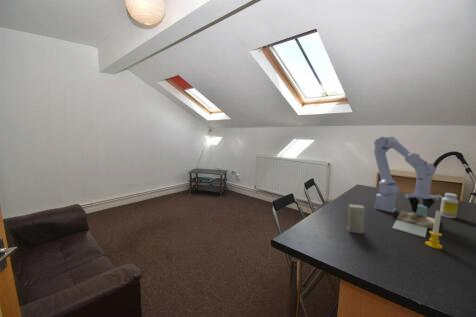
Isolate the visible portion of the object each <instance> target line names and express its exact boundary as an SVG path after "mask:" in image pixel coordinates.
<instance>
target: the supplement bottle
mask: <svg viewBox="0 0 476 317" xmlns="http://www.w3.org/2000/svg"><path fill="white" fill-rule="evenodd" d="M457 197H458V194H455V193H452V192H451V193H450V192H445V193H444V197H441V202H440V209H439V211H441V217H445V218H448V219H455V218H457V214H458V209H459V208H458V207H459V200H458V199H457Z"/></svg>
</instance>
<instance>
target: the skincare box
mask: <svg viewBox="0 0 476 317" xmlns="http://www.w3.org/2000/svg"><path fill="white" fill-rule="evenodd" d="M365 211H366V207H365V206H364V205H361V204H351V203H350V204H349V203H348V208H347V220H346V221H347V223H346V224H347V226H346V228H347V232H350V233H355V234H364V228H365V213H366V212H365Z"/></svg>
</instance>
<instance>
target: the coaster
mask: <svg viewBox="0 0 476 317" xmlns="http://www.w3.org/2000/svg"><path fill="white" fill-rule="evenodd" d="M391 229H392V230H395V231H399V232H403V233H406V234H410V235H414V236H417V237H421V238H424V239H425V238H426V237H427V231H428V228H426V227H422V226H418V225H414V224H410V223H407V222H403V221H399V220H397V219H396V220H395V221H394V224H393V226H392V228H391Z"/></svg>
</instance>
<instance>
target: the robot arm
mask: <svg viewBox="0 0 476 317" xmlns="http://www.w3.org/2000/svg"><path fill="white" fill-rule="evenodd" d="M373 143H374V150H373V151H374V157H375V161H376V165H377V168H378V173H379V176H380V181H378V192H379V193H376V195H375V202H374V204H375V205H374V209H375V210H379V211H384V212H388V213H392V214H394V213H395V211H396V210H397V209H396V208H395V204H396V197H397V195H398V194H399V193H400V186H398V184H397V182H396V180H395V179H393V177H392V174H391V169H390V165H389V163H388V162H389V161H388V158H387V155H386V153H387V152H388V151H389V150H390V149H393V150H394V151H396V152H397V153H398V154H400V155H402V156H403V157H404V161H405V162H406V163H407V164H408V165H410V166H411V167H412V168H413V169H414V171H415V174H416V179H415V180H416V181H415V189H414V192H413V193H405V194H404V198H406V199H408V201H409V204H410V206H411V212H412V211H413V212H416V211H417V206H418V204H419V203H420V200H422V205H424V206H426V207H428V211H429V210H430V209H431V207H432V206H433V204H435V203H436V202H435V200H436V201H439V199H440V196H438V195H436V194H435V195H434V194H433V195H432V194H430V192H431V186H432V180H433V174H435V173H436V170H437V169H436V166H435V165H434V163H428V161H427V160H424V159H423V158H422V157H421V156H420V154H419V153H415V152H413V153H411V152H410V151H409V150H408V149H407V148H406V147H405V146H403V145H402V143H401V142H399V140H398V139H397V138H395V136H379V137H378V136H377V138H376V139H375V141H373ZM419 199H420V200H419ZM428 211H427V213H428Z"/></svg>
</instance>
